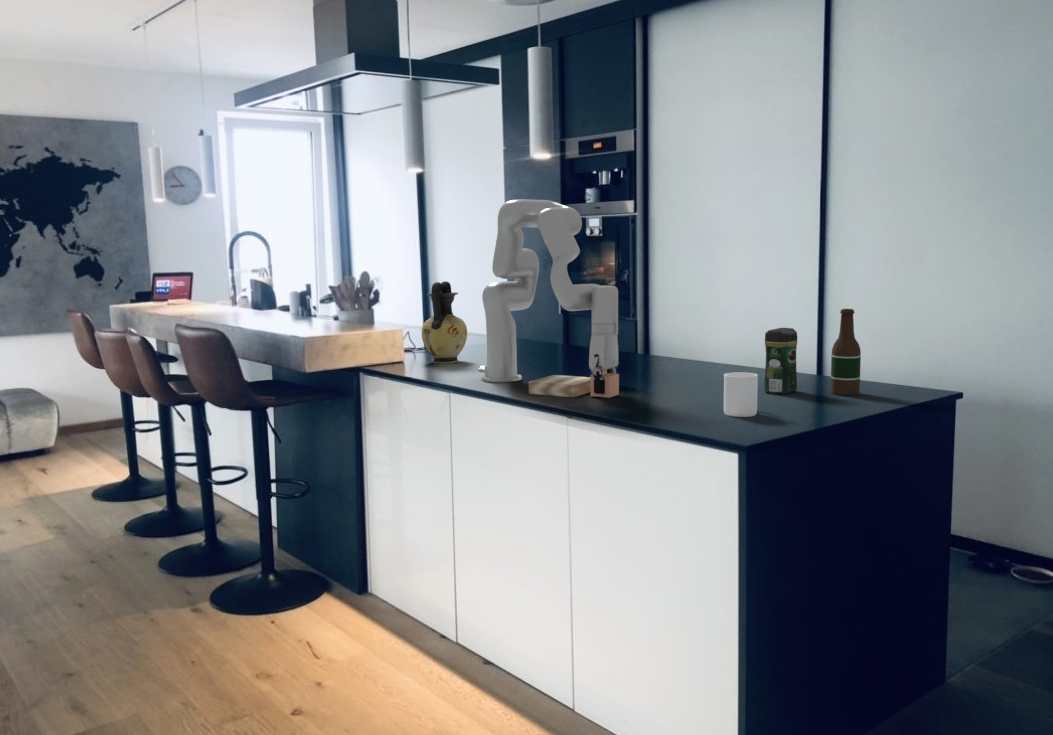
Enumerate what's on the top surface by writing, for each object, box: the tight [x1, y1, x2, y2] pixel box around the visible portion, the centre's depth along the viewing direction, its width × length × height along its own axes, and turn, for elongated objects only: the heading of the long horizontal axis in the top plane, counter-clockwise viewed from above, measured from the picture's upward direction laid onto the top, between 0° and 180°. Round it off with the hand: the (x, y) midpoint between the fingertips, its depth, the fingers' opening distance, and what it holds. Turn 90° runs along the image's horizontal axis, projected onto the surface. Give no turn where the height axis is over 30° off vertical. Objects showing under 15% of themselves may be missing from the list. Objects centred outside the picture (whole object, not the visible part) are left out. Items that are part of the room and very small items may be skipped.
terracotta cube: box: [590, 372, 620, 399], centre depth 265 cm, size 6×6×6 cm
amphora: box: [421, 281, 468, 364], centre depth 344 cm, size 18×17×30 cm
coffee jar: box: [763, 327, 798, 395], centre depth 265 cm, size 10×8×19 cm
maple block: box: [528, 374, 591, 398], centre depth 275 cm, size 15×15×4 cm
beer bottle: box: [830, 308, 862, 397], centre depth 260 cm, size 8×8×24 cm
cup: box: [723, 371, 759, 418], centre depth 236 cm, size 8×12×10 cm
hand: (604, 391), depth 265 cm, fingers closed on terracotta cube, 6 cm apart
